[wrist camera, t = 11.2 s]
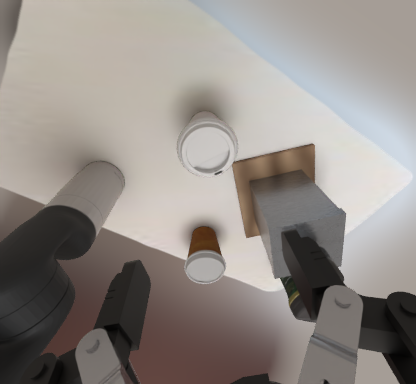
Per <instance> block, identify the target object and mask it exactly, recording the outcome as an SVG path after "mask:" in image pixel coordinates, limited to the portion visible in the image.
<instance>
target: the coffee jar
mask: <svg viewBox="0 0 416 384" xmlns="http://www.w3.org/2000/svg"><path fill="white" fill-rule="evenodd" d="M280 279H281V281H282V283H283V286H284V288H285V290H286V292H287V295H288V298H289V307H290V309H291V311H292V313H293V315H294V316H295V318H296V319H298V320H303V321H309V322H315V323H316V322H317V320H311V319H310V317H309V314H308V312H307V310H306V308H305V305H304V303H303V301H302V299H301V296H300V294H299V292H298V290H297V288H296V285H295V283H294V281H293V279H292V276H287V277H281V278H280Z"/></svg>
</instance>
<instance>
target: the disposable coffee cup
mask: <svg viewBox="0 0 416 384" xmlns="http://www.w3.org/2000/svg"><path fill="white" fill-rule="evenodd" d="M184 267H185V268H184V269H185V272H186V273H187V276H188V277H189V278H190V279H191V280H192V281H194V282H196V283H200V284H210V283H213V282H216V281H217V280H219V279H220V278H221V277H222V276H223V274H224V271H225V269H226V263H225V260H224V258H223V257H222V254H221V251H220V247H219V244H218V241H217V237H216V234H215V232H214V230H213V229H211V228H209V227H199V228H197V229H195V230H194V232H193V234H192V239H191V244H190V248H189V253H188V258H187V260H186V262H185V265H184Z"/></svg>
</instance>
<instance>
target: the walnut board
mask: <svg viewBox="0 0 416 384" xmlns="http://www.w3.org/2000/svg"><path fill="white" fill-rule="evenodd" d="M232 167H233V172H234V177H235V182H236V188H237V193H238V198H239V203H240V208H241V213H242V219H243V224H244V229H245V234H246V238H249V237H254V236H259V235H260V233H259V230H258V227H257V225H256V222H255V216H254V210H253V204H252V198H251V191H250V185H249V181H251V180H255V179H260V178H264V177H269V176H273V175H278V174H282V173H287V172H291V171H295V170H300V169H302V170H303V172H304V173H305V174H306V175H307V176H308V177H309V178H310V179H311V180H312V181H313V182H314V183H315V145H314V144H310V145H305V146H301V147H297V148H293V149H288V150H284V151H280V152H275V153H271V154H267V155H262V156H258V157H254V158H249V159H245V160H241V161H237V162H233V164H232Z"/></svg>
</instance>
